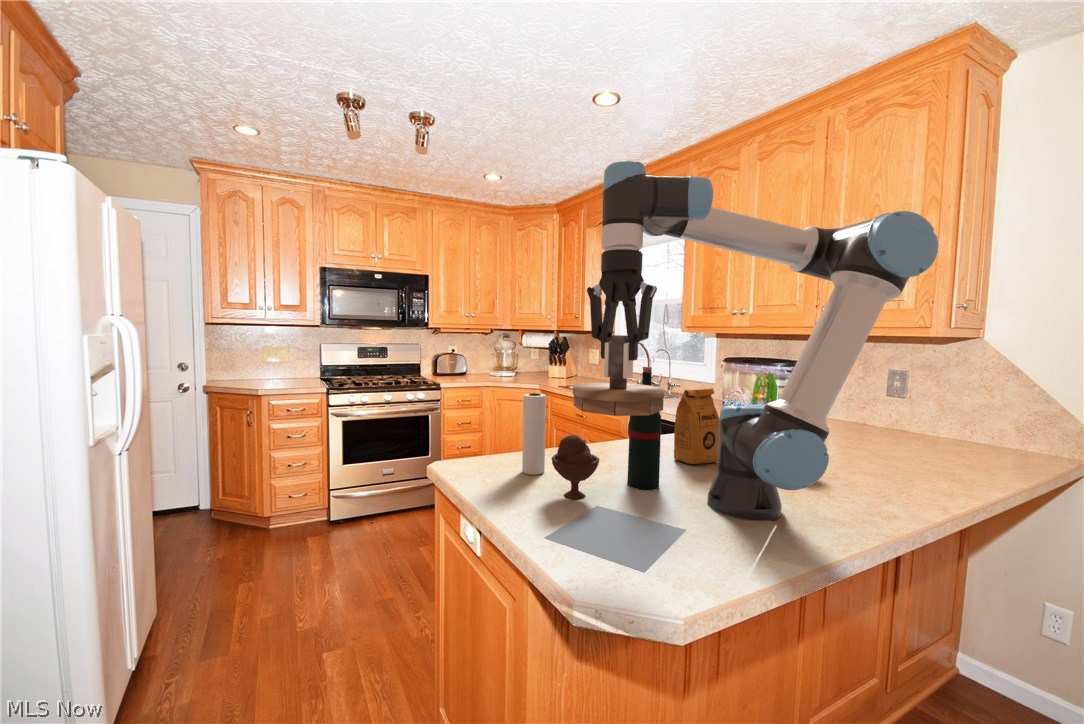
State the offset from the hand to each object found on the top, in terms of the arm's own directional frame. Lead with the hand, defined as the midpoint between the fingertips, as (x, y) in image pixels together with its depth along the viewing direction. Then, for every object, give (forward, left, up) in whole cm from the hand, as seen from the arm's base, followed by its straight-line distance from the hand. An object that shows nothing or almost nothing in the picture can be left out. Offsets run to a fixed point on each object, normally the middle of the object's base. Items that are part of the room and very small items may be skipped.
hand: (618, 376), depth 89 cm
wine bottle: (+8, -30, -31) cm, 44 cm away
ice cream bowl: (+16, -11, -31) cm, 36 cm away
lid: (0, 0, -6) cm, 6 cm away
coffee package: (+3, -59, -31) cm, 67 cm away
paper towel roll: (+35, -21, -31) cm, 51 cm away
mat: (-1, +1, -31) cm, 31 cm away
